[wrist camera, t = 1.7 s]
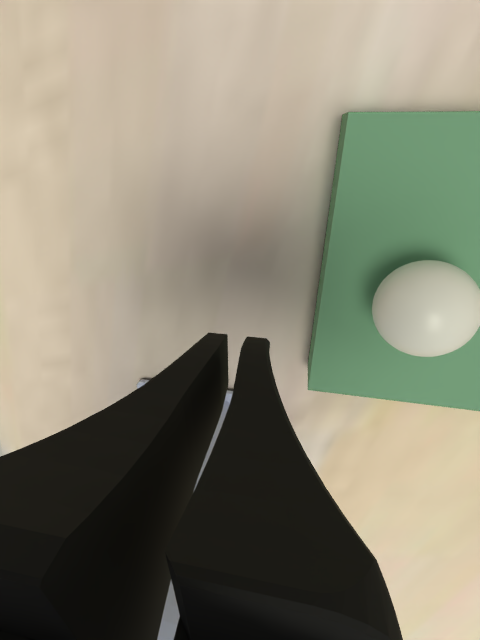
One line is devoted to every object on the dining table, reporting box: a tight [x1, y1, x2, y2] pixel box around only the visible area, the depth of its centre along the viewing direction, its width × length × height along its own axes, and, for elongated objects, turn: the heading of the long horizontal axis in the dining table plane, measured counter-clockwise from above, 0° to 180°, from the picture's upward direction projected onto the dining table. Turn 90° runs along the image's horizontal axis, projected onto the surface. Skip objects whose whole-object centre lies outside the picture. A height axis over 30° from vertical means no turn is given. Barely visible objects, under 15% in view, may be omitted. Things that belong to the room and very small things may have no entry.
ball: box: [372, 260, 480, 357], centre depth 13 cm, size 4×4×4 cm
